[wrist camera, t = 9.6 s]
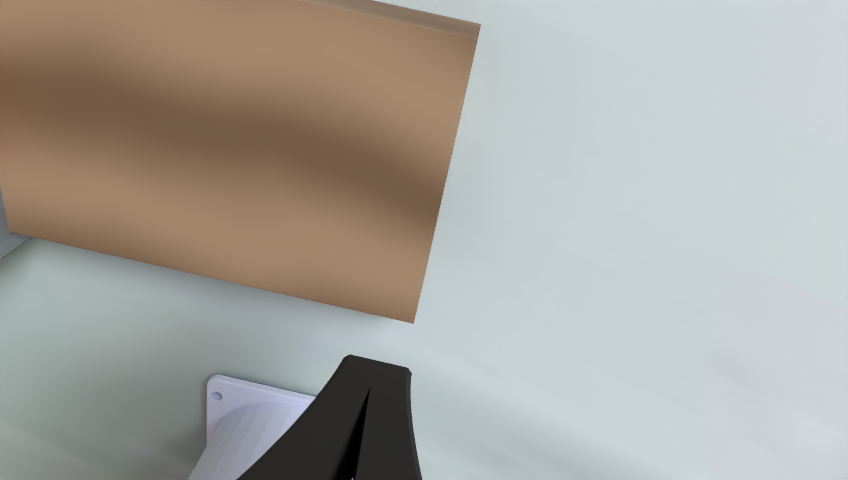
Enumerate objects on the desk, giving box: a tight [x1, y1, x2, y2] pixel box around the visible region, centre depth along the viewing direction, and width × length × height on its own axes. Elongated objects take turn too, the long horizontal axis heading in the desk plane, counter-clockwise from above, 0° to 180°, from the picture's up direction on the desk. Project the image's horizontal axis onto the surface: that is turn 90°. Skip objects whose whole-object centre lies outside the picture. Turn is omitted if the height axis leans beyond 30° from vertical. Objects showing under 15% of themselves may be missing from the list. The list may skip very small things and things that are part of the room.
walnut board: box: [0, 0, 481, 324], centre depth 20 cm, size 10×15×2 cm, turn 79°
